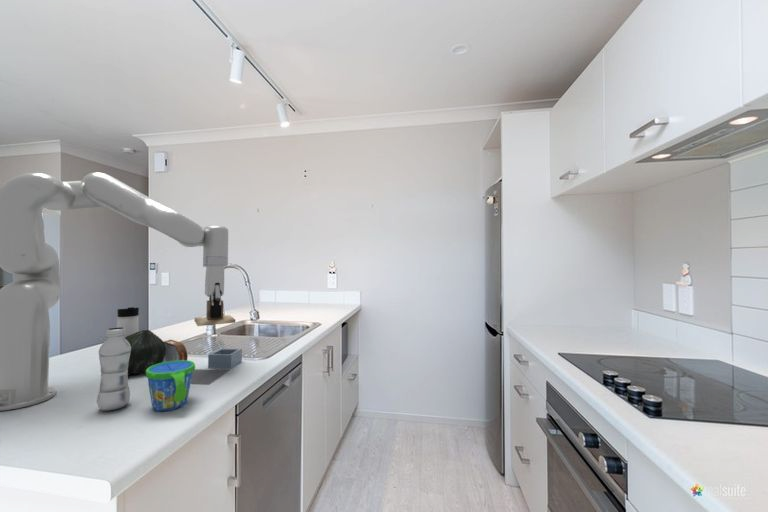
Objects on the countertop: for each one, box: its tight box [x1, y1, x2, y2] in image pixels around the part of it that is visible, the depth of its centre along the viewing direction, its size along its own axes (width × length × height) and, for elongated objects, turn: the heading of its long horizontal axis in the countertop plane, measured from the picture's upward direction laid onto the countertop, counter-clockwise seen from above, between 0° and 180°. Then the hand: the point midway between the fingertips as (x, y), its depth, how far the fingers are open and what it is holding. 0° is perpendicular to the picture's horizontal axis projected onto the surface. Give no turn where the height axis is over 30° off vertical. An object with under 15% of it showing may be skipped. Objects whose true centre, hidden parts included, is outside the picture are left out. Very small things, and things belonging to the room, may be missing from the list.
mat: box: [190, 368, 231, 386], centre depth 103 cm, size 13×13×1 cm
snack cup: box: [145, 359, 196, 412], centre depth 83 cm, size 16×10×10 cm
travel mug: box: [116, 306, 140, 338], centre depth 119 cm, size 6×7×20 cm
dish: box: [207, 348, 243, 370], centre depth 115 cm, size 8×8×5 cm
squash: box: [125, 329, 166, 375], centre depth 107 cm, size 14×15×15 cm
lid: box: [194, 299, 236, 327], centre depth 109 cm, size 11×11×7 cm
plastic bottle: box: [96, 326, 131, 412], centre depth 81 cm, size 6×7×20 cm
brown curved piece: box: [163, 339, 188, 362], centre depth 115 cm, size 15×3×8 cm, turn 58°
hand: (214, 315), depth 109 cm, fingers closed on lid, 4 cm apart
